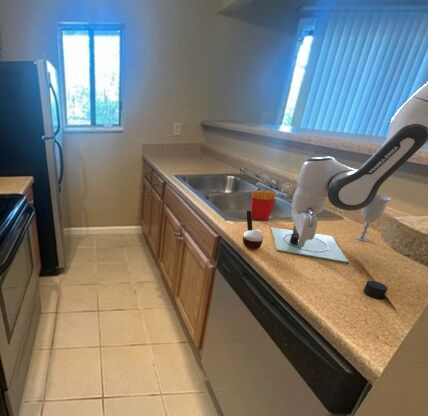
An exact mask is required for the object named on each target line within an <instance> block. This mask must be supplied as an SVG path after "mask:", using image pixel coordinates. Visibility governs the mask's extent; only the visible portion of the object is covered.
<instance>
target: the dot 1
mask: <svg viewBox="0 0 428 416" xmlns="http://www.w3.org/2000/svg"><path fill="white" fill-rule="evenodd" d="M298 240H299V234H296V233H294V234H292V235H291V239H290V243H291V244H293V245H297V246H298V244H297V242H298Z"/></svg>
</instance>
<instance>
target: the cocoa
mask: <svg viewBox="0 0 428 416" xmlns="http://www.w3.org/2000/svg"><path fill="white" fill-rule="evenodd" d="M252 220H253V219H252V216H251V210H246V222H247V223H246V224H247V230H246V231H245V232H244V233H243V236H242V243H243V245H244V247H246V248H247V249H250V250H259V249H260V248H261V246H262V244H263V242H264V241H263V240H264V238H265V235H264V234H263V232H262V231H261V230H259V229H253V221H252Z"/></svg>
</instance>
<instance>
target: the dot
mask: <svg viewBox="0 0 428 416" xmlns="http://www.w3.org/2000/svg"><path fill="white" fill-rule="evenodd" d="M387 291H388V286H387V285H386V284H384V283H382V282H379V281H376V280H367V281H366V283H365V285H364V288H363V293H364V294H365V295H366V296H368V297H370V298H373V299H377V300H383V299H384V298H385V295H386V293H387Z"/></svg>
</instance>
